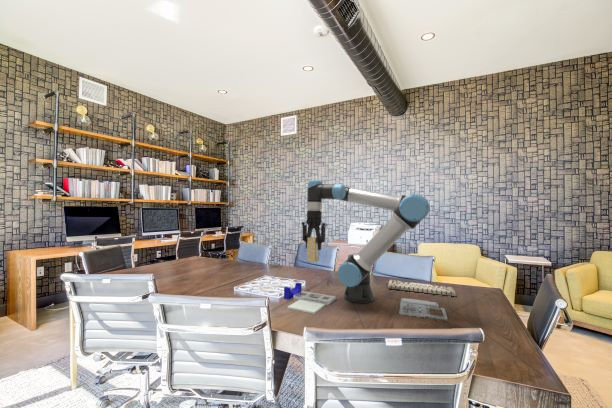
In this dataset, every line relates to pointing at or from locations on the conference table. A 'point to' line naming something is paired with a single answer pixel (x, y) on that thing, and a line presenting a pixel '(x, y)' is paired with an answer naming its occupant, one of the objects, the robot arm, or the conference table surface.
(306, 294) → the grey plate with holes
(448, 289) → the mechanical keyboard
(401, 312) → the grey flat slab
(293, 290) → the cable clip
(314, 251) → the tan rectangular block
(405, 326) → the conference table surface
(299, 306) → the sage pad
